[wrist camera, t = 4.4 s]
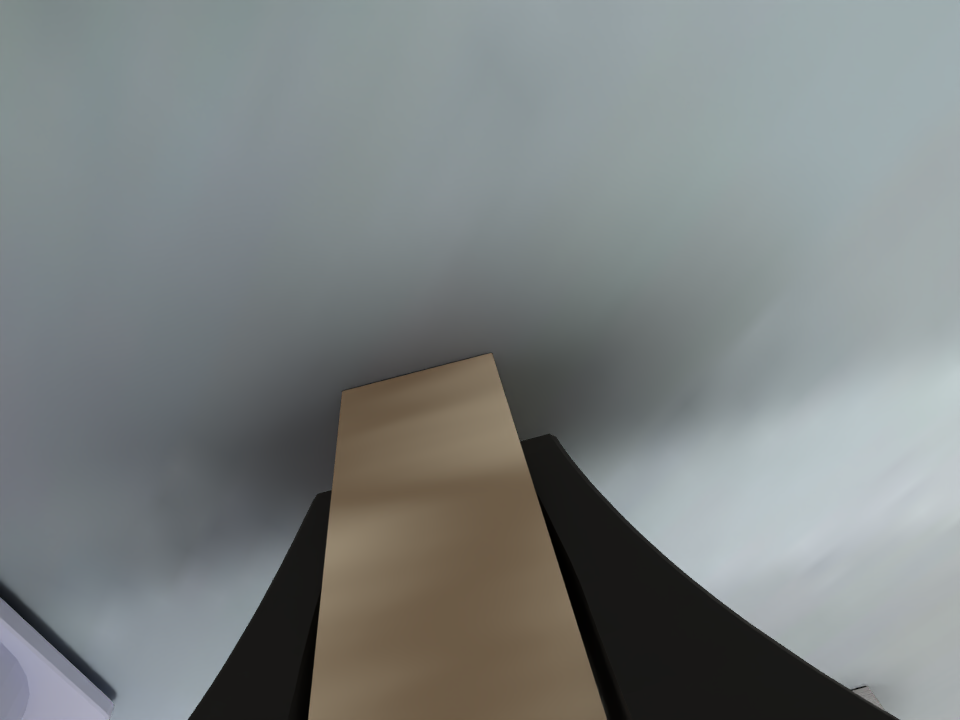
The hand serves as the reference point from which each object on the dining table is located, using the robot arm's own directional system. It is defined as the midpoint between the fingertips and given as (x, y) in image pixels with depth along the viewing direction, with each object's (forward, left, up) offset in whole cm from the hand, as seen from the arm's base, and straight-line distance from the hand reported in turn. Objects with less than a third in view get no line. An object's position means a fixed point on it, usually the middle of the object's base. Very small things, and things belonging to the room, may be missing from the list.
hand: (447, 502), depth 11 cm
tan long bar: (0, -9, -2) cm, 9 cm away
